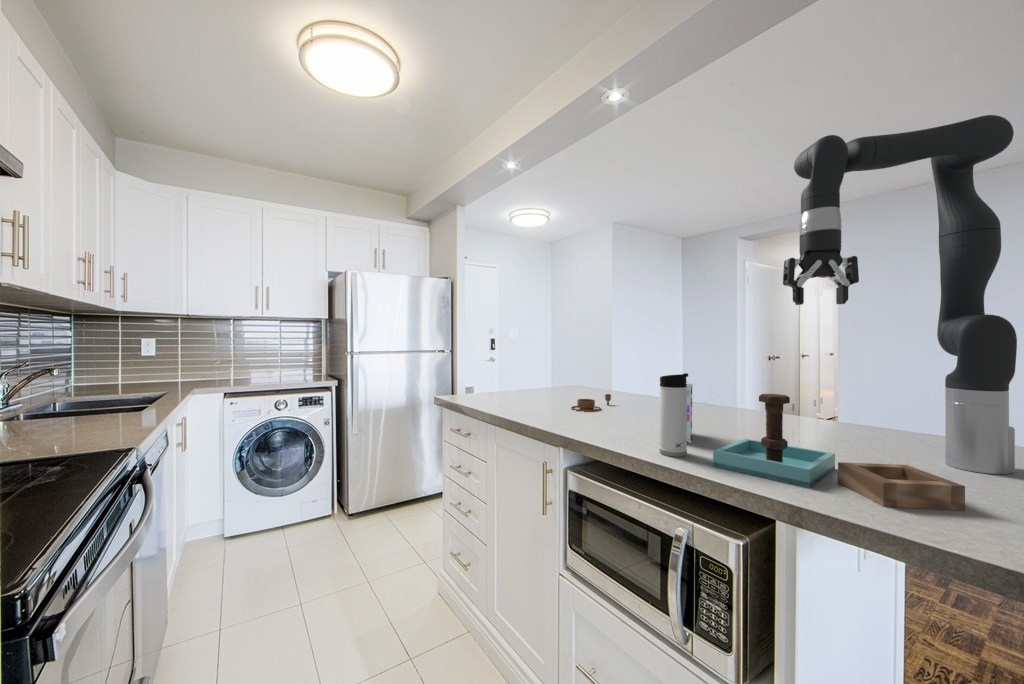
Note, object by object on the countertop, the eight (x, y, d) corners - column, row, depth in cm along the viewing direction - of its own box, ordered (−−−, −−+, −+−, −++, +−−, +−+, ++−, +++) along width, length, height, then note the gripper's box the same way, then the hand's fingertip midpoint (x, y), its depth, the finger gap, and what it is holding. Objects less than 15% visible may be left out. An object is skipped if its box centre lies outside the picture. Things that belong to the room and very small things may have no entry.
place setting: (564, 408, 176) (564, 395, 176) (609, 407, 180) (609, 393, 180) (579, 416, 159) (579, 400, 159) (627, 414, 163) (627, 399, 163)
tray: (746, 452, 104) (746, 438, 104) (835, 469, 90) (835, 453, 90) (713, 466, 92) (713, 450, 92) (809, 488, 79) (809, 469, 79)
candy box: (693, 444, 113) (693, 383, 113) (670, 443, 114) (670, 383, 114) (681, 433, 126) (681, 379, 126) (661, 432, 127) (661, 378, 127)
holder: (906, 485, 80) (906, 464, 80) (965, 510, 68) (965, 486, 68) (837, 482, 82) (838, 462, 82) (883, 506, 70) (883, 482, 70)
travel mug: (685, 458, 98) (685, 374, 98) (657, 454, 102) (657, 373, 102) (690, 452, 104) (690, 372, 104) (662, 449, 107) (662, 371, 107)
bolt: (780, 468, 87) (780, 397, 87) (755, 462, 92) (755, 394, 92) (792, 463, 91) (792, 395, 91) (768, 458, 95) (767, 393, 95)
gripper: (844, 235, 95) (844, 305, 95) (777, 237, 97) (777, 306, 97) (867, 225, 88) (867, 302, 88) (794, 228, 90) (794, 303, 90)
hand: (819, 304), depth 93 cm, fingers open, 8 cm apart
